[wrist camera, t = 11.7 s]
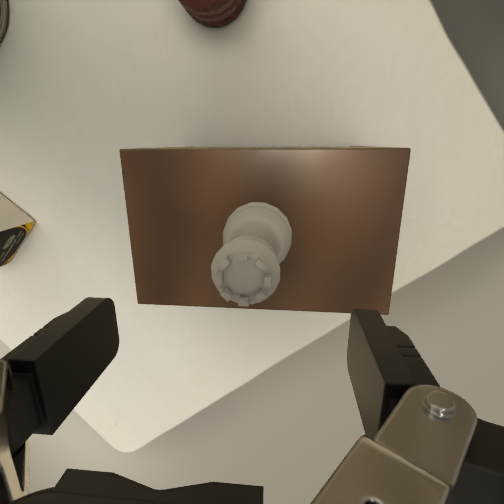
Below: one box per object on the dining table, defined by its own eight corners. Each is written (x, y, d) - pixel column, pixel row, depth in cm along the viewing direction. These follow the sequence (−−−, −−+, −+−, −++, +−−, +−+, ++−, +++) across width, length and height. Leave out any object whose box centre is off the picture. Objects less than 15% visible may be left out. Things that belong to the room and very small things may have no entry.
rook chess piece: (284, 271, 23) (281, 335, 15) (220, 258, 23) (187, 314, 16) (299, 208, 22) (304, 243, 14) (230, 194, 22) (200, 221, 14)
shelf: (189, 248, 38) (137, 304, 25) (183, 146, 35) (118, 149, 22) (352, 252, 36) (388, 315, 23) (361, 146, 33) (411, 148, 20)
